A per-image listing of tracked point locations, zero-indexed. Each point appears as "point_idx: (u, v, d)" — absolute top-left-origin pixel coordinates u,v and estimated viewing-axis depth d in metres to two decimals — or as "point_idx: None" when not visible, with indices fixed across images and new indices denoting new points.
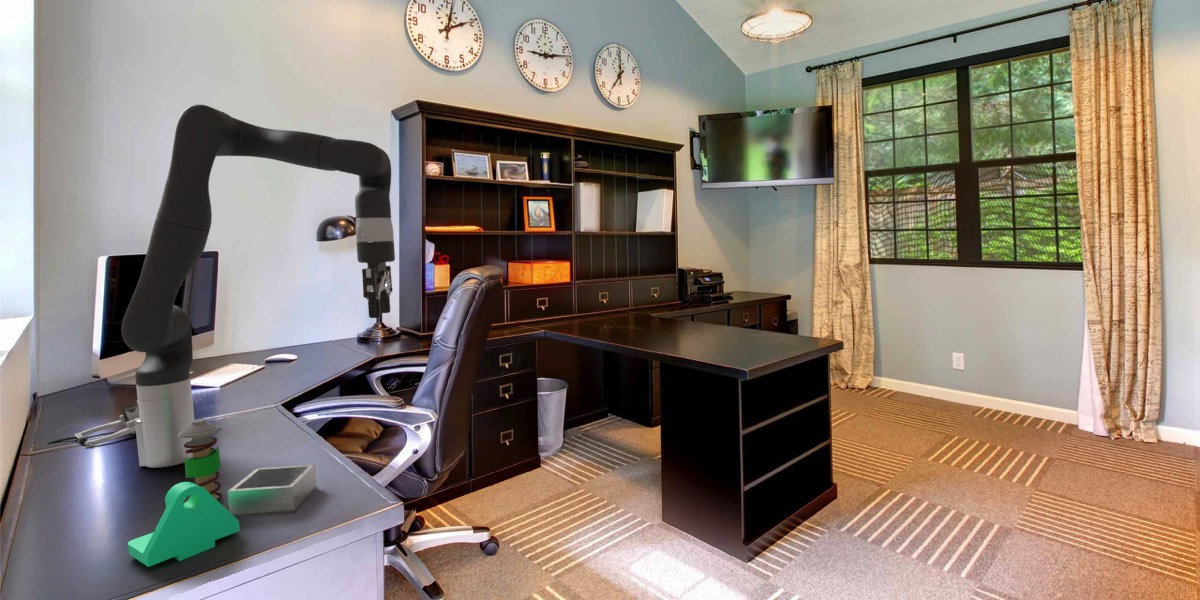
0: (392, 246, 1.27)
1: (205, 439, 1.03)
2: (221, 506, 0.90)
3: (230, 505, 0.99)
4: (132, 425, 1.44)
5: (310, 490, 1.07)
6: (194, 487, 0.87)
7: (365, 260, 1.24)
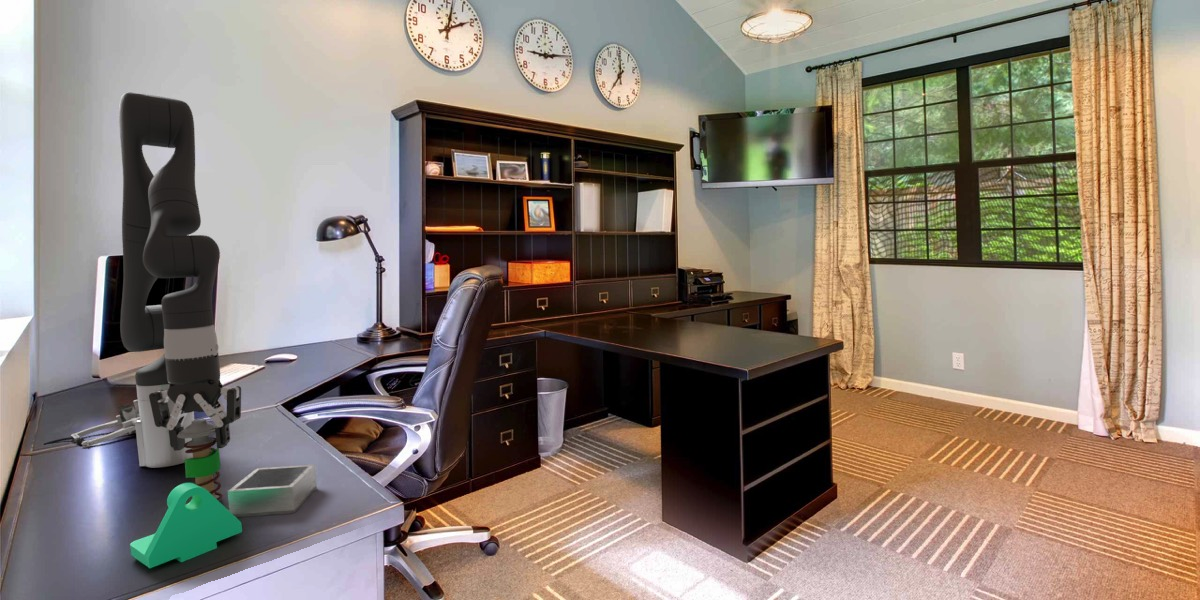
0: None
1: (205, 439, 1.03)
2: (223, 507, 0.89)
3: (230, 505, 0.99)
4: (129, 425, 1.44)
5: (310, 490, 1.07)
6: (196, 488, 0.86)
7: (211, 378, 1.01)
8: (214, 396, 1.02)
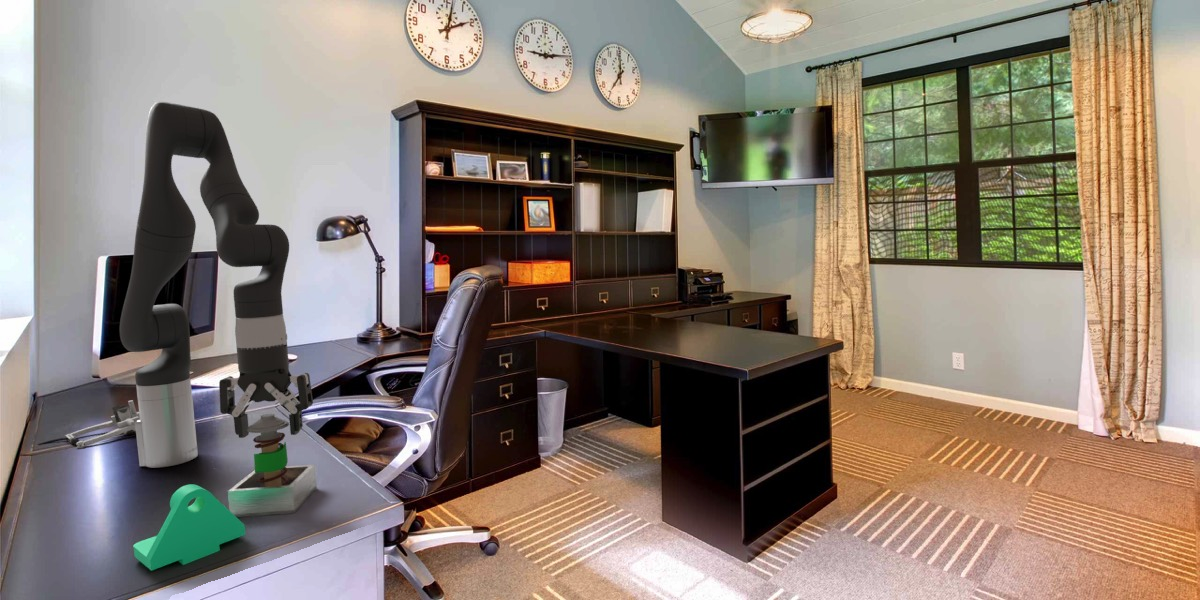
0: None
1: (274, 434, 1.03)
2: (226, 510, 0.89)
3: (230, 505, 0.99)
4: (124, 425, 1.44)
5: (310, 490, 1.07)
6: (198, 490, 0.86)
7: (282, 367, 1.01)
8: (284, 386, 1.02)
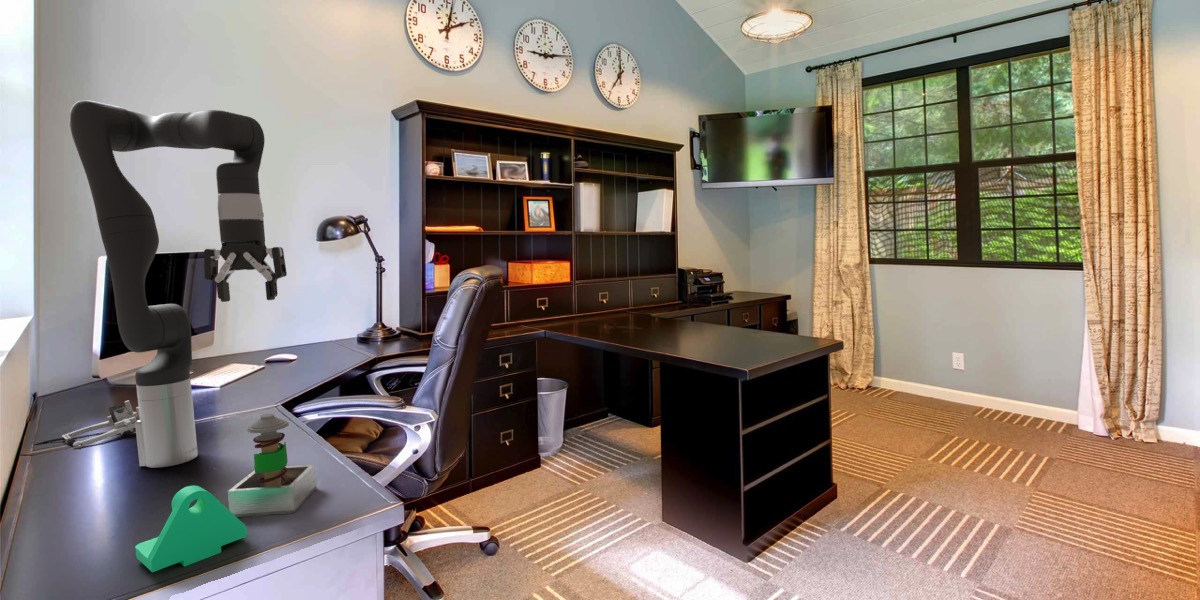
0: None
1: (274, 434, 1.03)
2: (228, 511, 0.88)
3: (230, 505, 0.99)
4: (120, 426, 1.44)
5: (310, 490, 1.07)
6: (200, 491, 0.85)
7: (258, 239, 1.16)
8: (260, 256, 1.16)
